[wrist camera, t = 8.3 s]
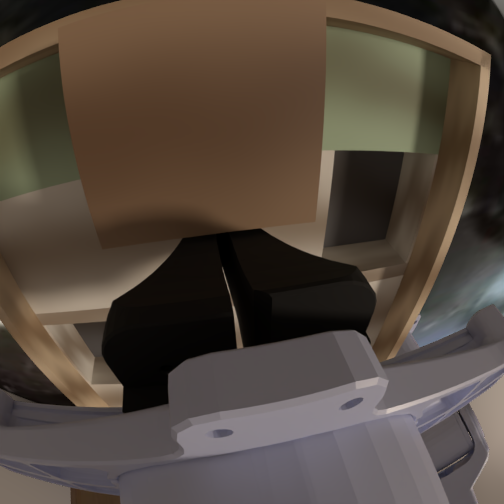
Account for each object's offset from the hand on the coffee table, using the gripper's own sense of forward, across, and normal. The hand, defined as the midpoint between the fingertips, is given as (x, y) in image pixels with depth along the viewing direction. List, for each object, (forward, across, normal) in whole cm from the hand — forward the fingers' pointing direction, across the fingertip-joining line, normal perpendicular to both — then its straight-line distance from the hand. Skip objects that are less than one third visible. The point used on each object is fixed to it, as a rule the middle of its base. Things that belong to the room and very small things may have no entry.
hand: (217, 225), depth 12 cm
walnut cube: (+1, 0, -5) cm, 5 cm away
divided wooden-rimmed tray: (+4, 0, +4) cm, 6 cm away
